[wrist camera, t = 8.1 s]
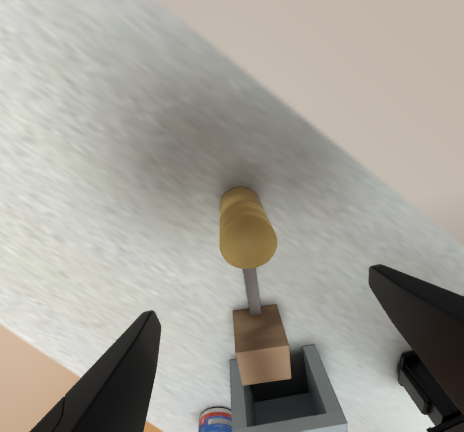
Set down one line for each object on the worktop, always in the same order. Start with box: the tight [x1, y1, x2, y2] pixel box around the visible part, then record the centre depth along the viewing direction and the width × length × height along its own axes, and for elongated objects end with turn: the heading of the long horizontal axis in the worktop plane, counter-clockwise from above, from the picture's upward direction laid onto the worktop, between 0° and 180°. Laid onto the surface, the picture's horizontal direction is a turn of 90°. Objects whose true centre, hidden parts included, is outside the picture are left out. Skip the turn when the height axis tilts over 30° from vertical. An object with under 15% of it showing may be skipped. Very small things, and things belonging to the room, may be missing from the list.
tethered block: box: [220, 187, 291, 386], centre depth 20 cm, size 5×19×7 cm, turn 8°
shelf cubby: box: [230, 344, 348, 432], centre depth 27 cm, size 11×12×8 cm
